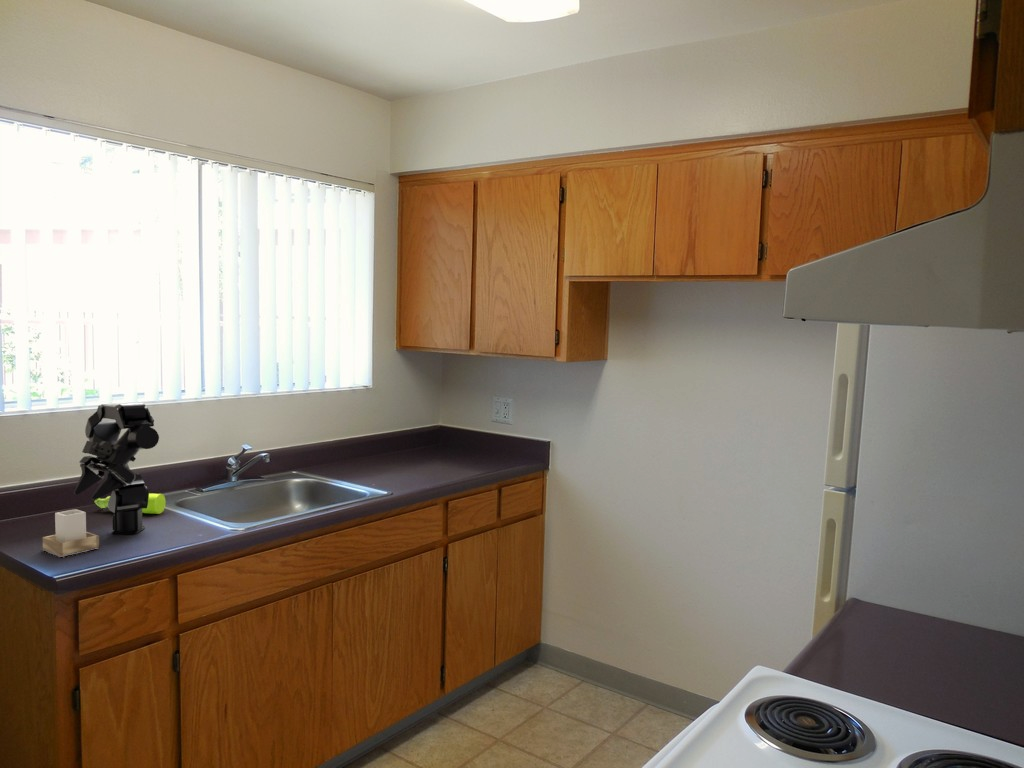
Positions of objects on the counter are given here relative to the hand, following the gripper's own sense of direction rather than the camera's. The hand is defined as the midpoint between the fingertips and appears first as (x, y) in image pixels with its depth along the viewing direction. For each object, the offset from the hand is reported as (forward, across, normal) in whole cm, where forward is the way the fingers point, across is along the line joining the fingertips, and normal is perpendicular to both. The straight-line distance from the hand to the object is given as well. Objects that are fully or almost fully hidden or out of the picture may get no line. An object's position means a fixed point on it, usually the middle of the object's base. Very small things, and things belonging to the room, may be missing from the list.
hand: (84, 496), depth 192 cm
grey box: (+11, 0, +6) cm, 13 cm away
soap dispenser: (-14, -17, +29) cm, 36 cm away
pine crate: (+12, 0, +7) cm, 14 cm away
